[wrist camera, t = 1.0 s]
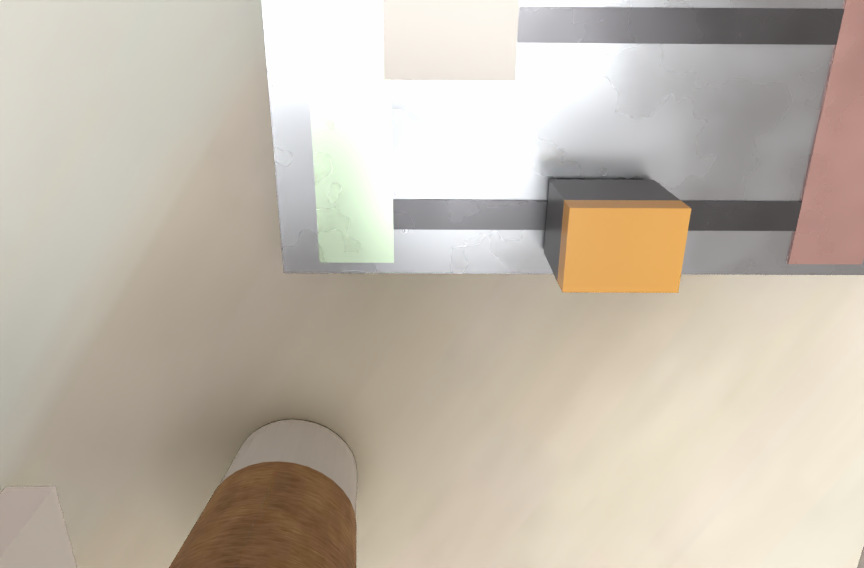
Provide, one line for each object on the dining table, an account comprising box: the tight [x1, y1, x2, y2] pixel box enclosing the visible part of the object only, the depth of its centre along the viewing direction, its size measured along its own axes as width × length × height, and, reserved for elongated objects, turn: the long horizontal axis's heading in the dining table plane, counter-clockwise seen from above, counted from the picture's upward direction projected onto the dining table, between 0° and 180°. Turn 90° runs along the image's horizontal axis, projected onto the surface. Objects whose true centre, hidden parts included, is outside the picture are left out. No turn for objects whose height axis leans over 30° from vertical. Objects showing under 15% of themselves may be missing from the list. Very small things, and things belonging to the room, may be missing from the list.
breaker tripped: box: [544, 179, 691, 293], centre depth 25 cm, size 4×3×4 cm
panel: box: [261, 0, 864, 275], centre depth 25 cm, size 25×19×2 cm
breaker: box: [382, 0, 519, 81], centre depth 22 cm, size 4×3×4 cm
